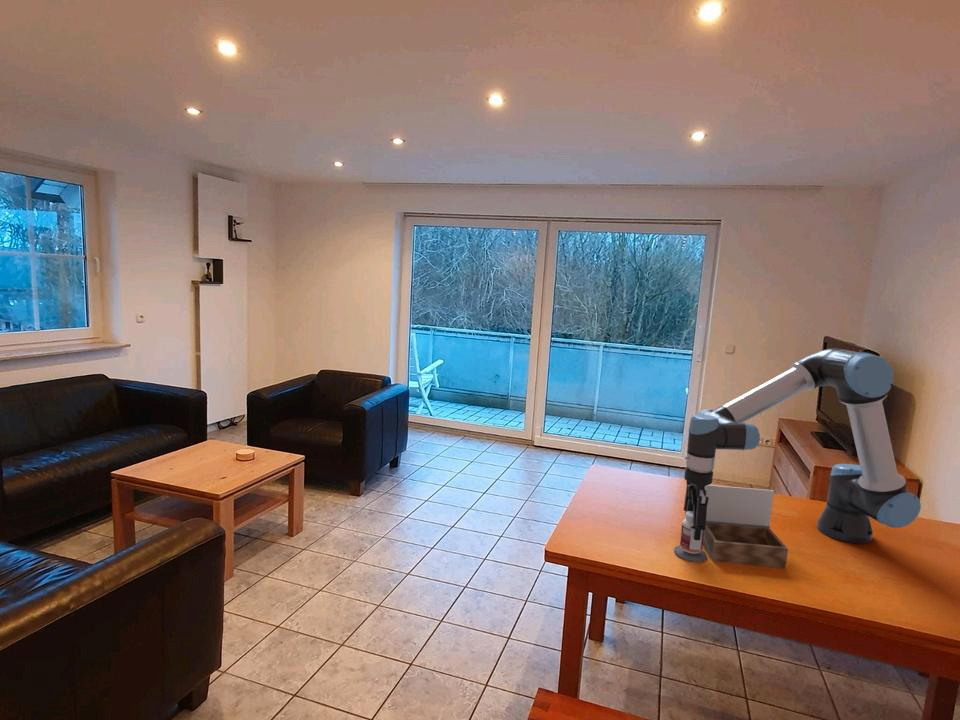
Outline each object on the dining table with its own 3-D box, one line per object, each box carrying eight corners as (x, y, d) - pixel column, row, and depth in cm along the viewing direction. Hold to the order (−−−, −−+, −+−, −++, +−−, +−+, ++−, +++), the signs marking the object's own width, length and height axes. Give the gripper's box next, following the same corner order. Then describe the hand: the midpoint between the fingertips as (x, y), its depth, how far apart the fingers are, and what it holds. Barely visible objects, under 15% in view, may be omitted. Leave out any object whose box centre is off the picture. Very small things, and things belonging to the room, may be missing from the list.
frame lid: (768, 527, 165) (773, 490, 163) (769, 529, 164) (774, 491, 162) (701, 521, 167) (705, 484, 166) (702, 523, 166) (706, 485, 165)
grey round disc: (701, 548, 162) (701, 546, 162) (710, 563, 154) (710, 561, 153) (670, 545, 163) (671, 543, 163) (678, 560, 155) (678, 558, 154)
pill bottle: (688, 542, 163) (691, 508, 161) (706, 551, 157) (710, 515, 156) (675, 547, 159) (678, 512, 158) (693, 556, 154) (697, 520, 152)
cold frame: (761, 540, 169) (766, 504, 167) (785, 568, 153) (790, 528, 151) (696, 534, 172) (700, 498, 170) (712, 561, 155) (717, 522, 153)
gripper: (677, 456, 164) (670, 527, 168) (695, 479, 145) (686, 558, 149) (703, 458, 164) (695, 529, 167) (723, 481, 145) (714, 561, 148)
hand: (691, 543), depth 158 cm, fingers open, 6 cm apart
